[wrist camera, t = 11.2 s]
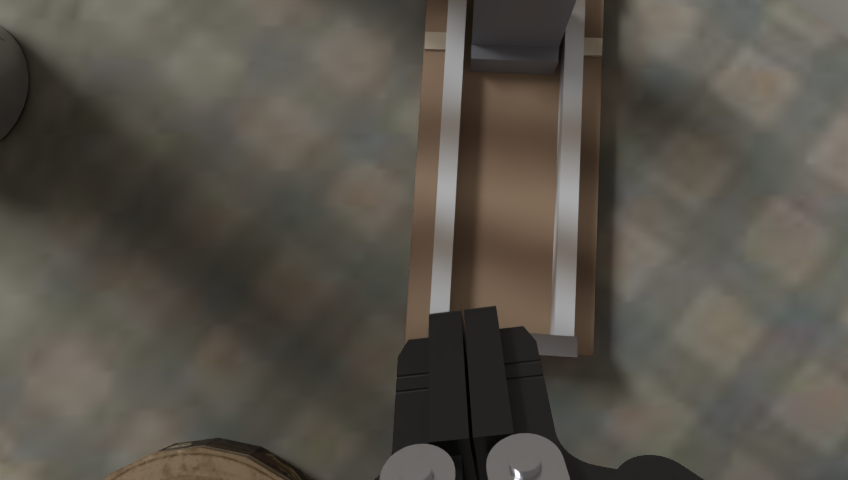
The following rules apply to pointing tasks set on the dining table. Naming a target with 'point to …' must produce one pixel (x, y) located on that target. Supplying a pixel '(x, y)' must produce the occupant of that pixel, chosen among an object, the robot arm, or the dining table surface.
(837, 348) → the dining table surface
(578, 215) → the board
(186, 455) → the brown round disc
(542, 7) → the fader tab
